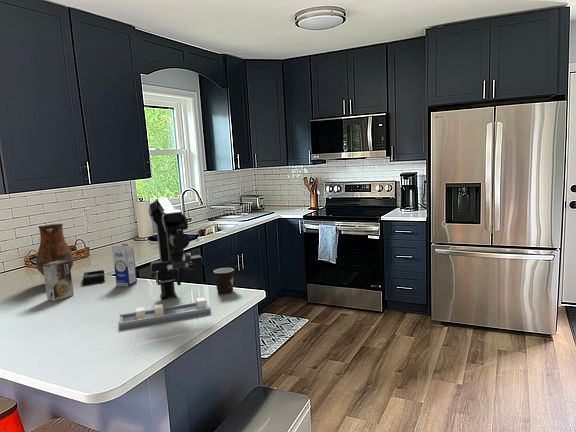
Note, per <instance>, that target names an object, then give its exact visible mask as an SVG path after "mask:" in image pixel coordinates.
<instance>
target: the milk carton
mask: <svg viewBox="0 0 576 432" xmlns="http://www.w3.org/2000/svg"><path fill="white" fill-rule="evenodd" d="M111 249H112V254H113V255H112V257H113V266H114V273H115V281H116V283H115V284H116V287H131V286H133V285H134V284H137V282H138V280H137V272H136V271H137V269H136V261H135V249H134V246H130V245H129V243H121V245H112V246H111Z"/></svg>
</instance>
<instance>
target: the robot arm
mask: <svg viewBox="0 0 576 432" xmlns="http://www.w3.org/2000/svg"><path fill="white" fill-rule="evenodd" d="M148 214H149V215H148V216H149V217H150V218H151V219H150V220H151V221H152V223H153V225H155V228H156V236H157V244H158V246H157V247H158V251H159V259H158V260H152V261H151V262H150V270H151V272H155V283H156V285H158V286H160V294H159V295H160V296H159V297H160V300H166V299H171V298H177V297H178V295H177V292H176V289H175V283H176V284H177V286H181V284H182V280H183V277H184V273H185V272H186V270H189V266H188V265H189V264H190V265H191V264H193V265H194V266H195V267H196V266H197V267H198V266H203V265H204V258H203V257H202V255H200V254H196V255H191V252H188V253H187V252H186V253H185V249H186V248H187V247H188V246H189V243H190V238H189V236H188V235H187V234H186V233H184V231H185V230H186V231H187V230H188V225H189V224H188V222H187V221H188V220H187V219H186V215H185V214H184V213H182V211H181V210H180V209H178V208H174V207H173V205H172V204H171V202H170V199H169V197H157V198H155V200H154V201H153V202H152V203H150V204H149V207H148Z"/></svg>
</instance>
